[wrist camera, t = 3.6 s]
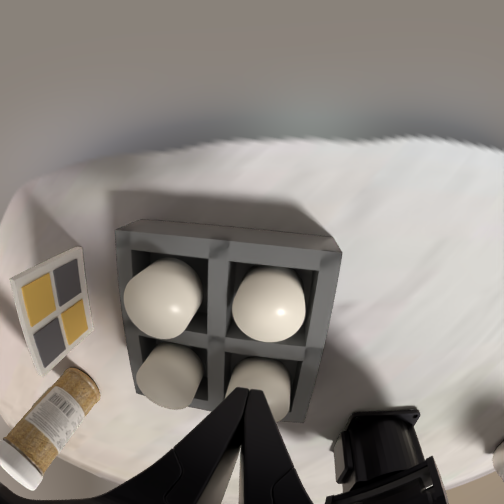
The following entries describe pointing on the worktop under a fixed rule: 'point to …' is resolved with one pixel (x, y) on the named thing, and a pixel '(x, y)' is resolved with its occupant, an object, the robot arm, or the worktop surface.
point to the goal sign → (53, 307)
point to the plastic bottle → (499, 460)
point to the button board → (223, 293)
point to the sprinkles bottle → (47, 427)
